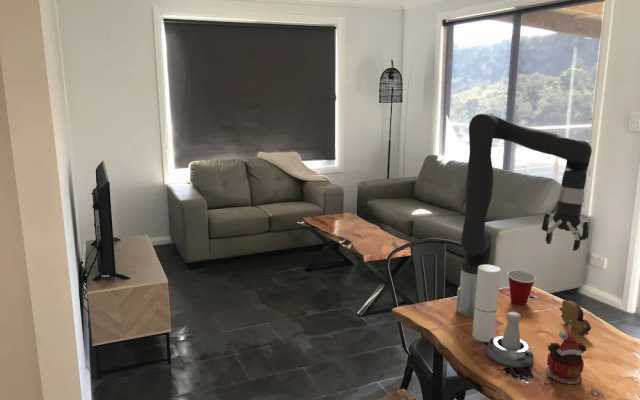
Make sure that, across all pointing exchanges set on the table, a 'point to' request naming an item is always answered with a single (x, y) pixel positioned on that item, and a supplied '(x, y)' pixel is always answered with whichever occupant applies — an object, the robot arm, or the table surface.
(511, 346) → the salt shaker
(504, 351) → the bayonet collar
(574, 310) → the wooden carving
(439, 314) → the table surface
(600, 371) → the table surface
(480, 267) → the cylindrical container
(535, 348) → the table surface
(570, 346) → the cake
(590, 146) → the robot arm
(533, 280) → the plastic cup
